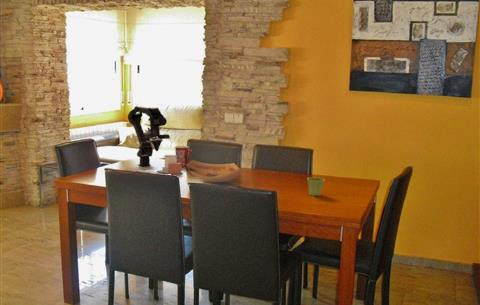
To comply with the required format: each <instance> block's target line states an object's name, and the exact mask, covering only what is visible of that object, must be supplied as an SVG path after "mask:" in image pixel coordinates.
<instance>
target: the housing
mask: <svg viewBox="0 0 480 305" xmlns="http://www.w3.org/2000/svg"><path fill="white" fill-rule="evenodd" d="M156 173H159V174H161V173H162V175H165V174H171V175H172V176H178V175H183V174H184V173H183V172H182V167H181V163H172V164H169V168H166V167H165V166H163V167H162V169H161V170H157V171H156Z"/></svg>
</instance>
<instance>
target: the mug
mask: <svg viewBox="0 0 480 305" xmlns="http://www.w3.org/2000/svg"><path fill="white" fill-rule="evenodd" d="M174 148H175V155H177V159H176V163H181V168H186V167H185V166H186V165H187V166H188V164H189V163H190V161H191V160H192V158H193V155H194V153H193V150H192V149H189V146H186V145H177V146H174ZM189 152H190V157H189V158H188V156H189V155H188V154H189Z"/></svg>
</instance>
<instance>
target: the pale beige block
mask: <svg viewBox="0 0 480 305" xmlns="http://www.w3.org/2000/svg"><path fill="white" fill-rule="evenodd" d="M176 159H177V155H176V154H165V155H164V167H166V168H169V164H172V163H176Z"/></svg>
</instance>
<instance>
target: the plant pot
mask: <svg viewBox="0 0 480 305" xmlns="http://www.w3.org/2000/svg"><path fill="white" fill-rule="evenodd" d="M306 179H307V184H308V193H309V195H310V196H313V197H315V196H317V197H320V196H321V195H322V191H323V186H324V183H325V180H326V179H324V178H322V177H315V176H314V177H307V178H306Z"/></svg>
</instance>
